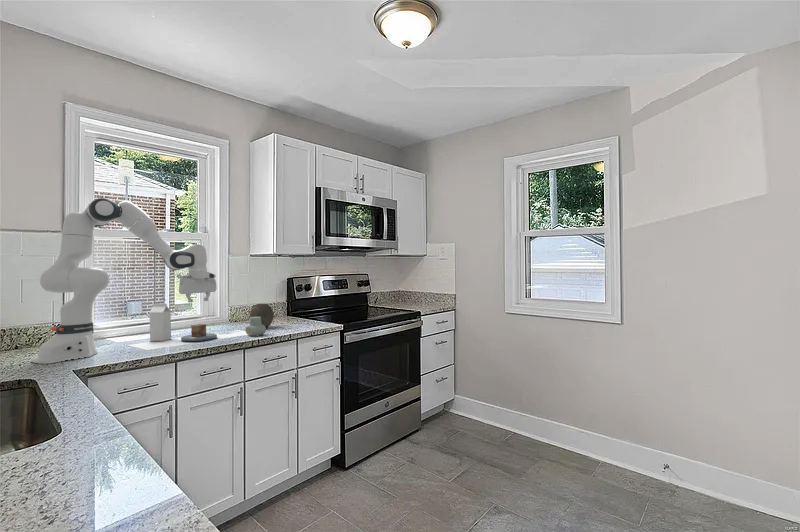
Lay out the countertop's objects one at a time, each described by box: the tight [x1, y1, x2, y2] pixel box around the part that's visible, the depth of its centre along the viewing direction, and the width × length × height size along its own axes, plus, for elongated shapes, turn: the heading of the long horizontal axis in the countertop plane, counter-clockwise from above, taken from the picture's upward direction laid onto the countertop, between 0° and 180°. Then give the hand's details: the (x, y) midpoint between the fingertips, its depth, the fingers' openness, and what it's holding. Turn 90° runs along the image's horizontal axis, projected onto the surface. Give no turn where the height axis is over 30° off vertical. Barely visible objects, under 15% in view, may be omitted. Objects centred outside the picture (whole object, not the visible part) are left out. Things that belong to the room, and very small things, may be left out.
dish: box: [180, 332, 217, 342], centre depth 223 cm, size 17×17×2 cm
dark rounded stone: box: [249, 303, 275, 329], centre depth 257 cm, size 14×14×15 cm
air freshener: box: [245, 316, 267, 337], centre depth 232 cm, size 11×8×10 cm
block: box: [190, 323, 207, 337], centre depth 223 cm, size 5×5×6 cm
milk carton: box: [148, 303, 172, 342], centre depth 223 cm, size 7×7×19 cm
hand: (198, 301), depth 222 cm, fingers open, 8 cm apart
